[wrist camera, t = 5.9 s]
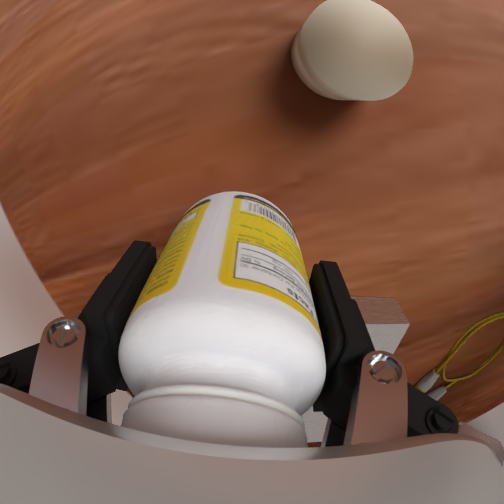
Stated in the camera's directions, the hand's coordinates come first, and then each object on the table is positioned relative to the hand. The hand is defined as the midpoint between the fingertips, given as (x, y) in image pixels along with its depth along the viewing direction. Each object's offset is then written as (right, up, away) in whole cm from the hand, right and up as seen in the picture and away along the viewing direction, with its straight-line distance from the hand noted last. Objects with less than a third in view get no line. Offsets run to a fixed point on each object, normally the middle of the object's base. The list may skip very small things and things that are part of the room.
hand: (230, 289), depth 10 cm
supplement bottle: (0, +2, +3) cm, 3 cm away
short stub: (+5, +12, +2) cm, 13 cm away
